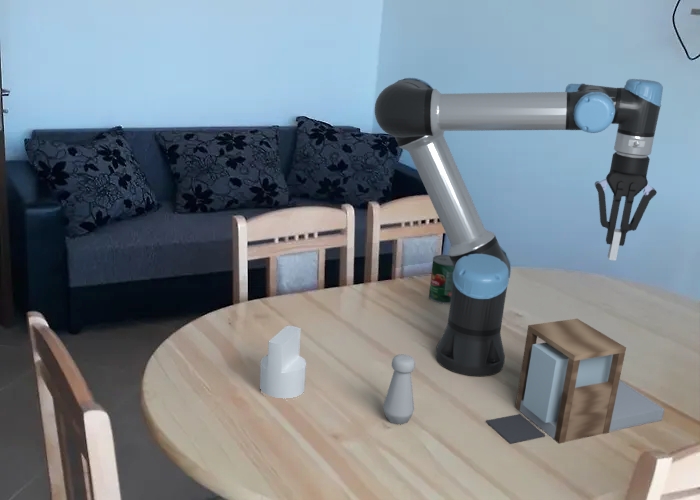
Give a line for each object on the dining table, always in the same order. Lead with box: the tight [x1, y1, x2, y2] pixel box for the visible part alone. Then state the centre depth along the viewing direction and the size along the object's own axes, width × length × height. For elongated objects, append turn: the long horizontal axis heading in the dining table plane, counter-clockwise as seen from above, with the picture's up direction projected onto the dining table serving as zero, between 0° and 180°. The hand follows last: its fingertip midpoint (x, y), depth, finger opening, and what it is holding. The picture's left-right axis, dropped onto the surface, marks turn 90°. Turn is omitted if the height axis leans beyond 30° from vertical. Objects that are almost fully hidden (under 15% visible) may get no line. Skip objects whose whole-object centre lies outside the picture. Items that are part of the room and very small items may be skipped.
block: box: [523, 342, 613, 423], centre depth 149 cm, size 14×7×13 cm, turn 115°
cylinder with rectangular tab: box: [259, 325, 307, 399], centre depth 154 cm, size 9×9×12 cm
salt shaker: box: [382, 354, 416, 426], centre depth 146 cm, size 6×6×13 cm
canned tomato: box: [428, 254, 455, 305], centre depth 207 cm, size 8×8×11 cm
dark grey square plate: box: [485, 413, 546, 445], centre depth 147 cm, size 8×8×1 cm
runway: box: [519, 380, 665, 440], centre depth 155 cm, size 26×13×2 cm, turn 115°
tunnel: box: [514, 318, 627, 444], centre depth 149 cm, size 12×14×18 cm
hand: (611, 258), depth 173 cm, fingers closed
